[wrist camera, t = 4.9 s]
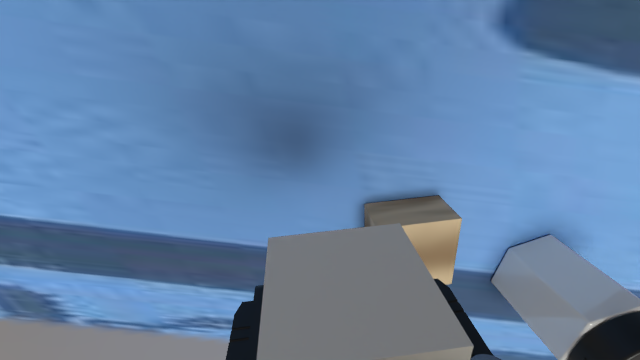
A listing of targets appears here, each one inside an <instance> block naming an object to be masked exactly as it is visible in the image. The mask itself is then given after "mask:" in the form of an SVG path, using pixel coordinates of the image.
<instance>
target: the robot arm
mask: <svg viewBox="0 0 640 360" xmlns="http://www.w3.org/2000/svg"><path fill="white" fill-rule="evenodd" d="M434 281H435V282H436V284H437V286H438V287H439V289H440V291H441V292H442V294H443V296H444V297H445V299H446V301H447V302H448V304H449V306H450V307H451V309H452V311H453V312H454V314H455V316H456V317H457V319H458V321H459V322H460V324H461V326H462V327H463V329H464V331H465V332H466V334H467V336H468V337H469V339H470V341H471V342H472V344H473V350H472V354H471V358H470V360H501V359H499V358H497V357H495V356H494V355H493V354H492V353H491V351H490V350H489V349H488V347H487V346H486V344H485V342H484V341H483V339H482V338H481V336H480V335H479V333H478V332H477V330H476V328H475V327H474V325H473V324H472V322H471V321H470V319H469V318H468V316H467V314H466V313H465V312H464V310H463V308H462V307H461V305H460V304H459V302H457V299H456V297H455V296H454V294H453V293H452V291H451V290H450V288H449V287H448V286H446V285H445V284H444V283H443V282H441V281H440V280H439V279H434ZM263 289H264V285H259V286H256V287H255V293H254V301H248V302H242V304H241V305H240V307H239V308H238V310H237V311H236V313H235V315H234V320H233V325H232V331H231V335H230V343H229V346H228V351H227V356H226V360H257V350H258V340H259V329H260V319H261V309H262V299H263Z"/></svg>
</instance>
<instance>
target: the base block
mask: <svg viewBox="0 0 640 360" xmlns="http://www.w3.org/2000/svg"><path fill="white" fill-rule="evenodd" d="M461 221H462V218H461V217H460V216H459V215H458V214H457V213H456V212H455V211H454V210H453V209H452V208H451V207H450V206H449V205H448V204H447V203H446V202H445V201H444V200H443V199H442V198H441V197H440V196H439V195H437V196H429V197H420V198H411V199H403V200H394V201H385V202H376V203H368V204H365V227H370V226H379V225H388V224H397V223H400V224H401V226H402V228H403V229H404V231H405V233H406V234H407V236H408V238H409V239H410V241H411V243H412V244H413V246H414V248H415V249H416V251H417V253H418V254H419V256H420V258H421V259H422V261H423V263H424V264H425V266H426V268H427V269H428V271H429V273H430V274H431V276H432V277H433V279H439V280H440V281H441V282H443V283H444V284H445V285H446V284H451V283H452V277H453V270H454V264H455V258H456V252H457V246H458V239H459V233H460V227H461Z"/></svg>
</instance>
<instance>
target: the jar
mask: <svg viewBox="0 0 640 360" xmlns="http://www.w3.org/2000/svg"><path fill="white" fill-rule="evenodd" d="M491 282H492V283H493V284H494V286H495V287H496V288H497V289H498V290H499V291H500V293H501V294H502V295H503V296H504V297H505V298H506V300H507V301H508V302H509V303H510V304H511V305H512V307H513V308H514V309H515V310H516V311H517V312H518V314H519V315H520V316H521V317H522V319H523V320H524V321H525V322H526V323H527V324H528V326H529V327H530V328H531V329H532V330H533V331H534V332H535V334H536V335H537V336H538V337H539V338H540V339H541V340H542V342H543V343H544V344H545V345H546V346H547V347H548V349H549V350H550V351H551V352H552V353H553V354H554V356H555V357H556V358H557V359H558V360H640V299H639V298H638V297H637V296H635V295H634V294H633V293H631V292H630V291H628V290H627V289H626V288H624V287H623V286H621V285H620V284H619V283H617V282H616V281H615V280H613V279H612V278H610V277H609V276H608V275H606V274H605V273H603V272H602V271H601V270H599V269H598V268H597V267H595V266H594V265H592V264H591V263H590V262H588V261H587V260H585V259H584V258H583V257H581V256H580V255H579V254H577V253H576V252H574V251H573V250H572V249H570V248H569V247H568V246H566V245H565V244H563V243H562V242H561V241H559V240H558V239H556V238H555V237H554V236H552V235H547V236H544V237H541V238H538V239H535V240H532V241H529V242H526V243H523V244H520V245H517V246H514V247H512V248H509V249H508V251H507V252H506V254H505V256H504V258H503V260H502V262H501V263H500V265H499V267H498V269H497V271H496V272H495V274H494V276H493V278H492V280H491Z"/></svg>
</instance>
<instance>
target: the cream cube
mask: <svg viewBox="0 0 640 360" xmlns="http://www.w3.org/2000/svg"><path fill="white" fill-rule="evenodd" d="M472 350H473V344H472V342H471V341H470V339H469V337H468V336H467V334H466V332H465V331H464V329H463V327H462V326H461V324H460V322H459V321H458V319H457V317H456V316H455V314H454V312H453V311H452V309H451V307H450V306H449V304H448V302H447V301H446V299H445V297H444V296H443V294H442V292H441V291H440V289H439V287H438V286H437V284H436V282H435V281H434V279H433V277H432V276H431V274H430V273H429V271H428V269H427V268H426V266H425V264H424V263H423V261H422V259H421V258H420V256H419V254H418V253H417V251H416V249H415V248H414V246H413V244H412V243H411V241H410V239H409V238H408V236H407V234H406V233H405V231H404V229H403V228H402V226H401V224H400V223H397V224H388V225H379V226H370V227H361V228H352V229H343V230H334V231H325V232H316V233H307V234H299V235H290V236H281V237H272V238H268V248H267V258H266V268H265V278H264V289H263V299H262V309H261V319H260V329H259V340H258V350H257V360H470V358H471V354H472Z"/></svg>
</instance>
